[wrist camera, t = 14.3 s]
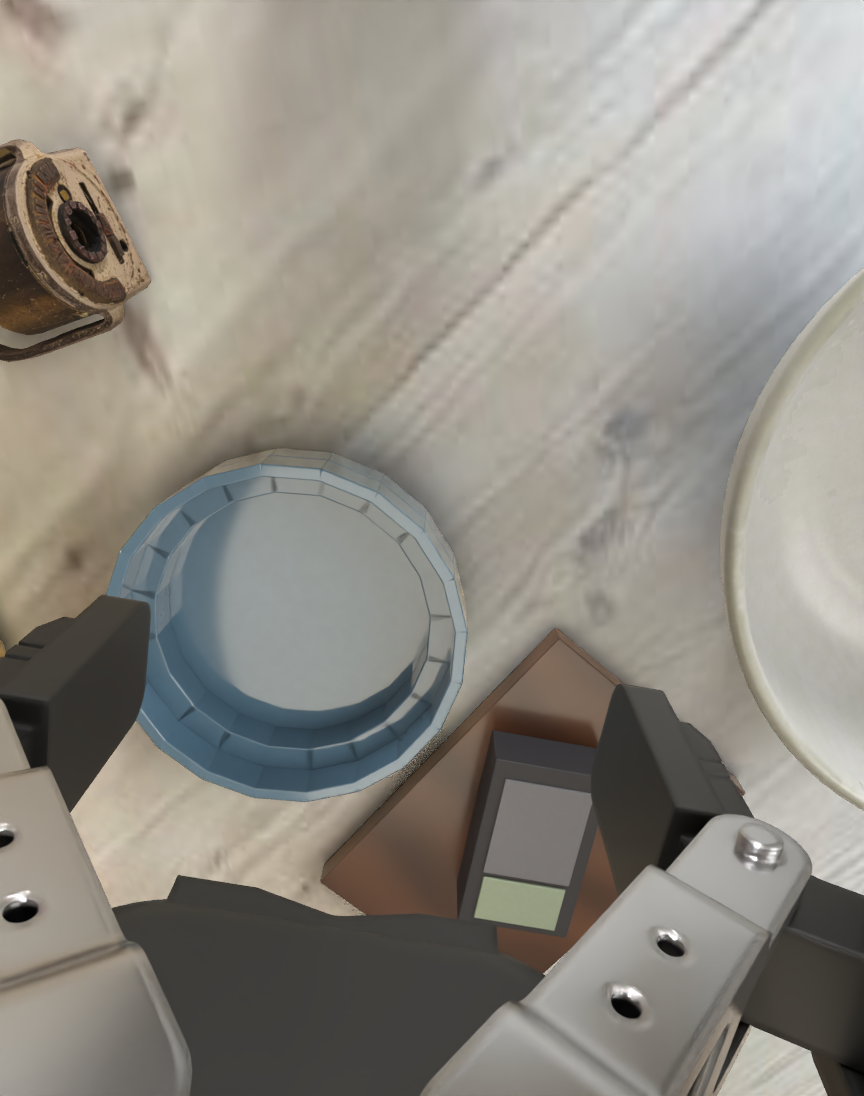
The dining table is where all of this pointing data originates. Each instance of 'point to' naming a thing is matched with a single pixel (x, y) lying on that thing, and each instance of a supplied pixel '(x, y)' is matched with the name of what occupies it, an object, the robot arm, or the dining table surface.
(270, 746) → the bowl
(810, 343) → the decorative bowl
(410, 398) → the dining table surface
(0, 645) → the pastry
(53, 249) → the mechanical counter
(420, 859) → the board
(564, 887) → the calculator
